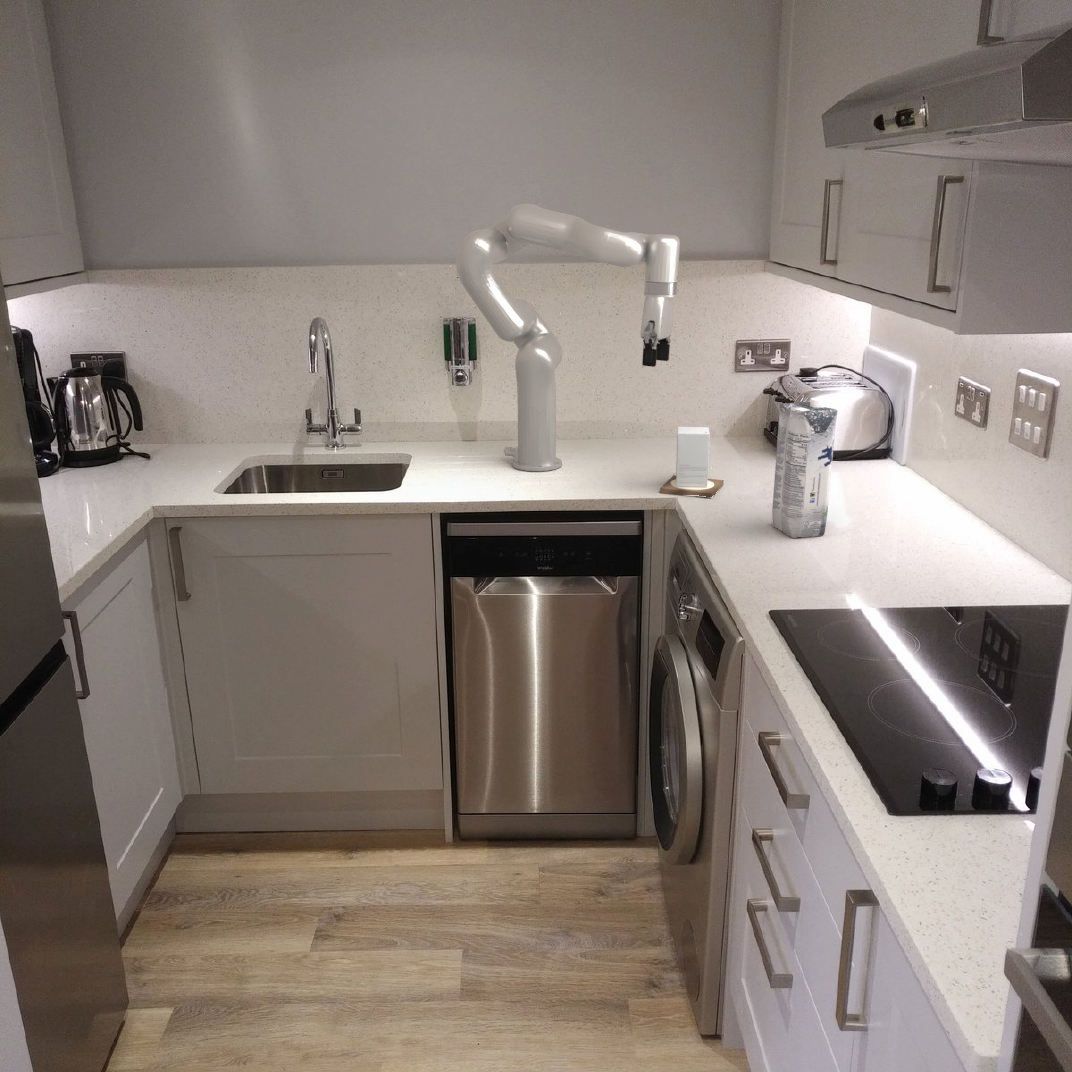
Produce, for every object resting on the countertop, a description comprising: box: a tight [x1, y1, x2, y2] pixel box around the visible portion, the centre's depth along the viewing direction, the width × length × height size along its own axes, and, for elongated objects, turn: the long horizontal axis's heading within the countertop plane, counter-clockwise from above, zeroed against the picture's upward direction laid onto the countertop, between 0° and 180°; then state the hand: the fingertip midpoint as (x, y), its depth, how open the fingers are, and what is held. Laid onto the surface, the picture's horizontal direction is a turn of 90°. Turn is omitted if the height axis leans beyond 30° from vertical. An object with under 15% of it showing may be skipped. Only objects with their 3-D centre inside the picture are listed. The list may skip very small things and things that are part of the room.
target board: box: [659, 474, 724, 497], centre depth 235 cm, size 12×12×1 cm
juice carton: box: [771, 397, 838, 539], centre depth 201 cm, size 9×10×27 cm
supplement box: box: [675, 426, 711, 487], centre depth 233 cm, size 7×7×13 cm
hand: (655, 363), depth 241 cm, fingers open, 9 cm apart
